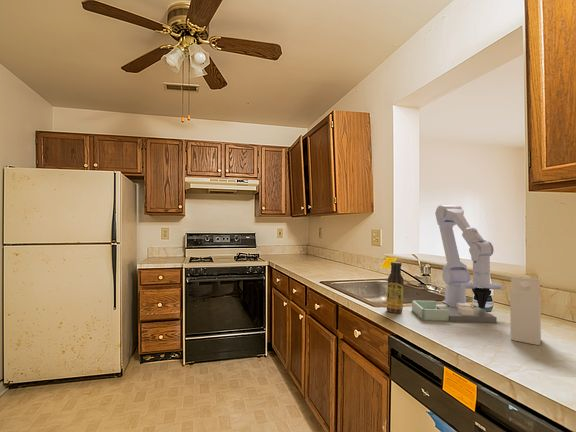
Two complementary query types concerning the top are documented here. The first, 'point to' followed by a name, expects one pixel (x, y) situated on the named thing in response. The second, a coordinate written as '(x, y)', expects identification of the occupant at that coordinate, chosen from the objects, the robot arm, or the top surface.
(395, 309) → the sauce bottle
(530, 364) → the top surface
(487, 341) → the top surface
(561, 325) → the top surface
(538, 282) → the milk carton
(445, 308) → the board
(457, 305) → the tile
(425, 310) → the tray
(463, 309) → the tile
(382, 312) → the top surface
